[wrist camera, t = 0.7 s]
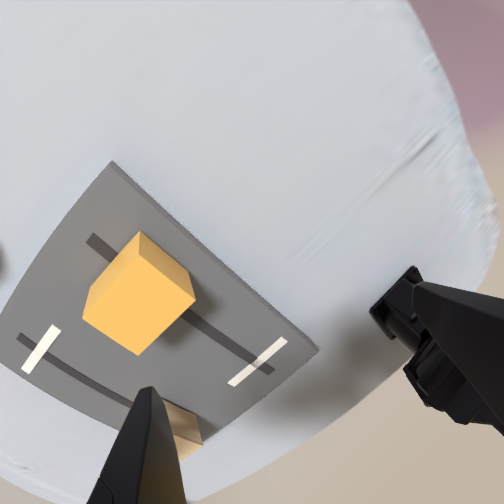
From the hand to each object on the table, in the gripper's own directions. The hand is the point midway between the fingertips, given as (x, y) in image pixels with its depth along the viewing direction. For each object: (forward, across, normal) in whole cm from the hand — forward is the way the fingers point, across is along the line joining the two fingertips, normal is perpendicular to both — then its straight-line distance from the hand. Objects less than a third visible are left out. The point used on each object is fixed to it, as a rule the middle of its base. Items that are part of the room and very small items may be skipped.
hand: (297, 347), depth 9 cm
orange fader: (+11, +6, +2) cm, 13 cm away
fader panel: (+14, +8, +8) cm, 18 cm away
